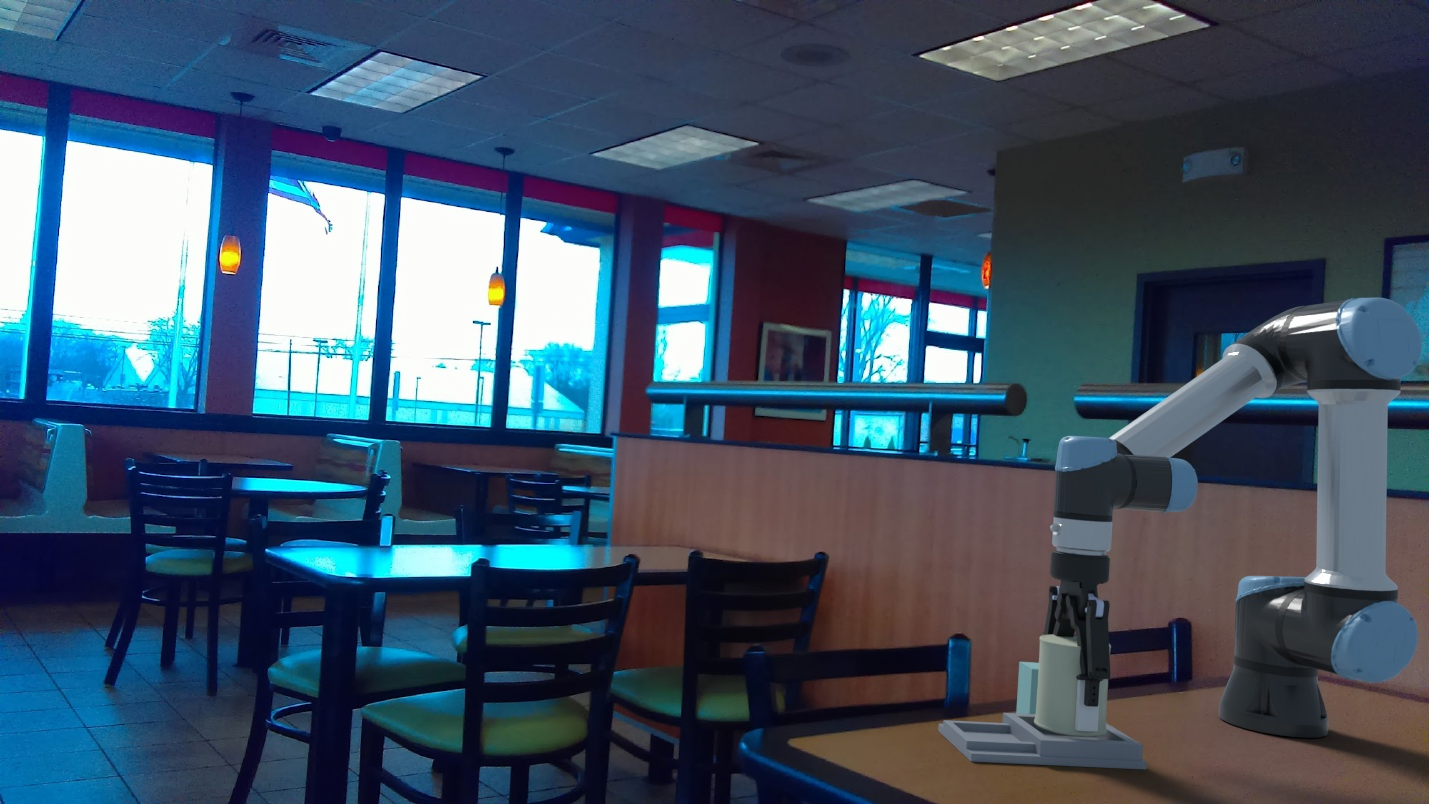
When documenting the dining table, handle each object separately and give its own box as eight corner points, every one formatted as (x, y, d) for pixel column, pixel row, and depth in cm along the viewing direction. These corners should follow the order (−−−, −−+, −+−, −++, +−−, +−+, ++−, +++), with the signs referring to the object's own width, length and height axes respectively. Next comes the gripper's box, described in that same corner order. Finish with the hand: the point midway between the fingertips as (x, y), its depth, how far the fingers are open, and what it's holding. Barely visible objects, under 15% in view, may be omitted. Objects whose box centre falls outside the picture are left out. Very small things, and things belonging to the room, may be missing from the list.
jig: (1097, 738, 152) (1099, 717, 152) (1146, 769, 138) (1147, 745, 138) (938, 730, 150) (939, 709, 150) (970, 761, 136) (972, 737, 136)
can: (1111, 740, 139) (1117, 647, 139) (1037, 731, 141) (1042, 639, 141) (1100, 723, 148) (1106, 635, 148) (1031, 715, 150) (1036, 628, 150)
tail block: (1048, 716, 163) (1051, 663, 163) (1061, 725, 158) (1065, 670, 158) (1016, 715, 163) (1019, 661, 163) (1028, 724, 158) (1031, 668, 158)
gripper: (1023, 541, 156) (1014, 699, 155) (1088, 558, 134) (1077, 742, 133) (1073, 544, 156) (1064, 701, 156) (1146, 562, 135) (1136, 745, 134)
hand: (1070, 720), depth 144 cm, fingers closed on can, 9 cm apart
